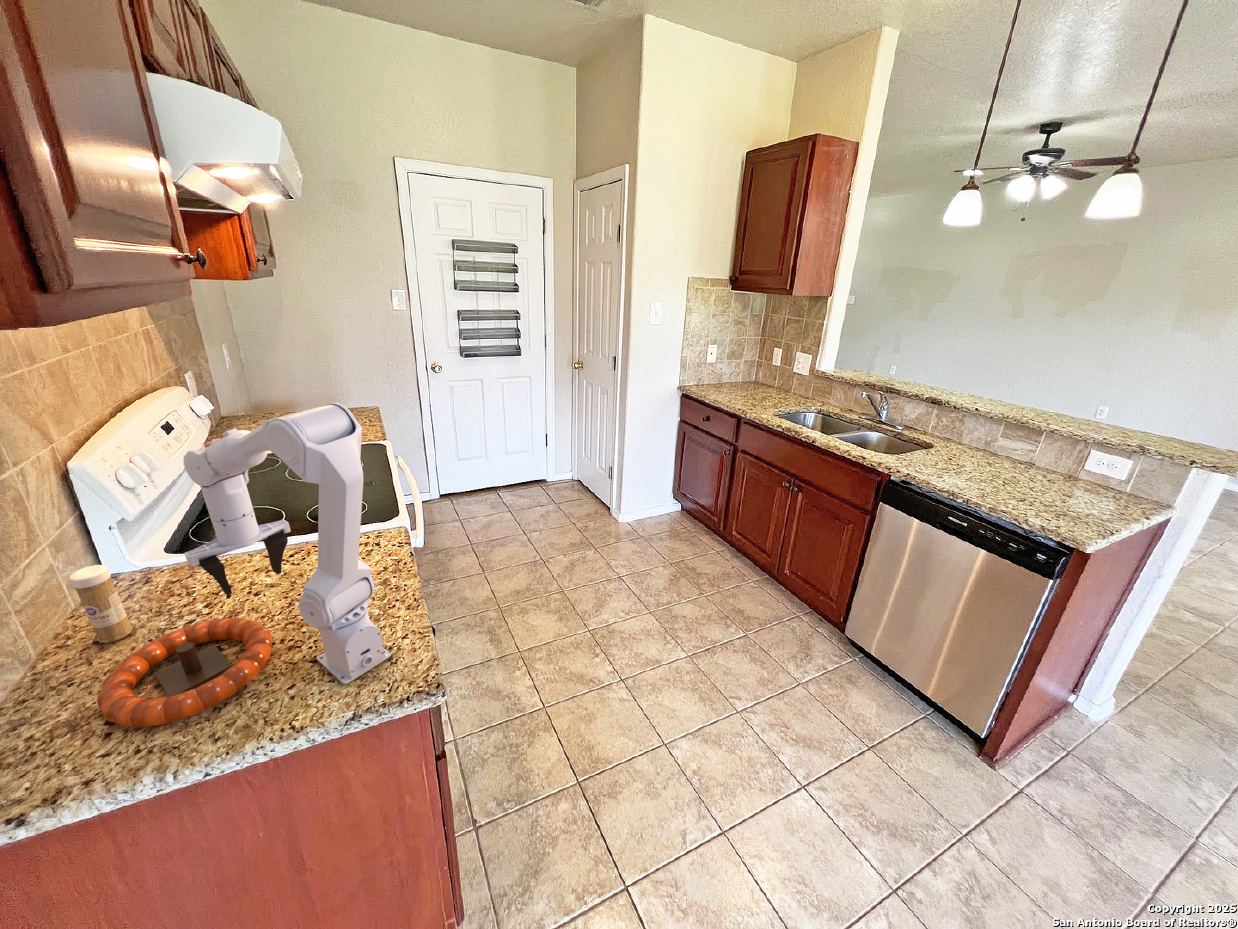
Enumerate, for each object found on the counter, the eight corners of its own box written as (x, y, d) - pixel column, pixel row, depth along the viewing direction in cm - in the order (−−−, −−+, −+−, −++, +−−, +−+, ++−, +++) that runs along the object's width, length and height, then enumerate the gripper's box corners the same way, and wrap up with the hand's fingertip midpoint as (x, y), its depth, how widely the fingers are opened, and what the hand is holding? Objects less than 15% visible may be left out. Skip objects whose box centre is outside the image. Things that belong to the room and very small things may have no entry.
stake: (234, 671, 80) (225, 643, 78) (172, 703, 74) (160, 674, 72) (215, 649, 84) (206, 623, 82) (155, 678, 78) (143, 650, 76)
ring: (296, 664, 82) (292, 647, 80) (126, 760, 66) (116, 741, 64) (244, 614, 93) (239, 599, 92) (87, 685, 77) (79, 667, 75)
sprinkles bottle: (91, 646, 84) (60, 581, 79) (108, 629, 88) (79, 565, 83) (124, 641, 86) (96, 576, 81) (139, 624, 90) (113, 562, 85)
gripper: (270, 493, 89) (287, 556, 94) (169, 523, 78) (194, 593, 83) (288, 503, 86) (304, 569, 91) (184, 536, 75) (209, 609, 80)
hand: (253, 581), depth 87 cm, fingers open, 7 cm apart
